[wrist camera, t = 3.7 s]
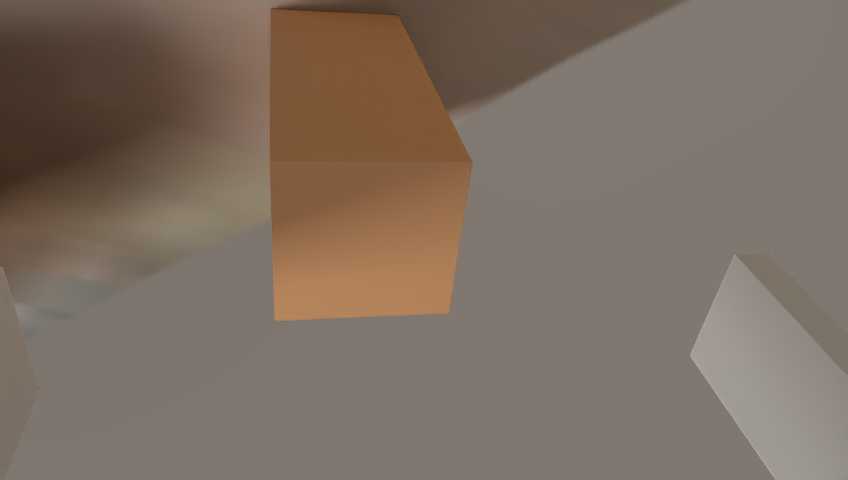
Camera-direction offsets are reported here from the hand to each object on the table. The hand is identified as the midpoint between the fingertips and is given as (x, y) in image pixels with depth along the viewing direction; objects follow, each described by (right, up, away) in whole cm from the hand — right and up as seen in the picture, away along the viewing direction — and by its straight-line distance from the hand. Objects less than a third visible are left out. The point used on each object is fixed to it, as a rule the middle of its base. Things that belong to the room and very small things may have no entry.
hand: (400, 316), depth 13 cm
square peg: (-3, +7, +10) cm, 12 cm away
